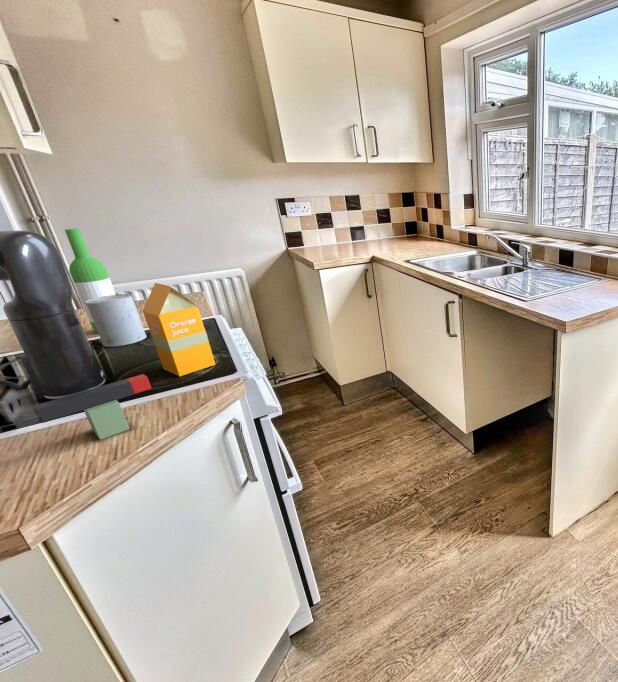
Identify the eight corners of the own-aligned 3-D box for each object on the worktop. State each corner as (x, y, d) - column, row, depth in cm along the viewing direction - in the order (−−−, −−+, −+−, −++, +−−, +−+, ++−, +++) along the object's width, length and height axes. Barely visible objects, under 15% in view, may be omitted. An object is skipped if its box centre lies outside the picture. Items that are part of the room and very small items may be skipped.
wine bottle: (90, 331, 128) (48, 230, 117) (122, 324, 134) (85, 227, 123) (99, 335, 124) (56, 231, 113) (132, 327, 130) (94, 227, 119)
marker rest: (100, 439, 72) (87, 411, 70) (93, 430, 75) (80, 403, 73) (129, 429, 75) (118, 401, 73) (121, 420, 78) (110, 394, 76)
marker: (43, 422, 67) (36, 409, 66) (40, 418, 68) (34, 405, 67) (151, 388, 77) (147, 376, 76) (147, 385, 79) (143, 373, 78)
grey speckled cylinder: (94, 344, 117) (77, 301, 112) (134, 333, 125) (119, 293, 120) (115, 348, 113) (97, 304, 109) (154, 336, 121) (139, 295, 117)
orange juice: (179, 376, 95) (149, 290, 88) (162, 368, 99) (132, 286, 92) (216, 364, 101) (191, 282, 94) (199, 357, 106) (174, 279, 98)
